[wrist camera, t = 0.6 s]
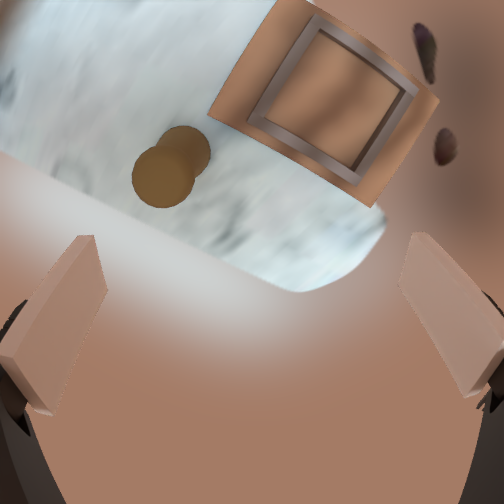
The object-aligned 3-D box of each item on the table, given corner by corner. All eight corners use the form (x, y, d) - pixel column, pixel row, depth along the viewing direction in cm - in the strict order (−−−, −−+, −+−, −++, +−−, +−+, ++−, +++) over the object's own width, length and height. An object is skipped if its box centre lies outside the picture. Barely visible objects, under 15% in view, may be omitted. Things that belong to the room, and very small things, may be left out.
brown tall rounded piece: (170, 187, 35) (143, 230, 25) (147, 140, 32) (108, 165, 22) (219, 166, 34) (210, 201, 24) (197, 116, 31) (176, 130, 21)
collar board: (208, 114, 31) (205, 116, 28) (283, -9, 24) (287, -15, 22) (367, 205, 36) (375, 213, 34) (435, 99, 29) (447, 102, 27)
